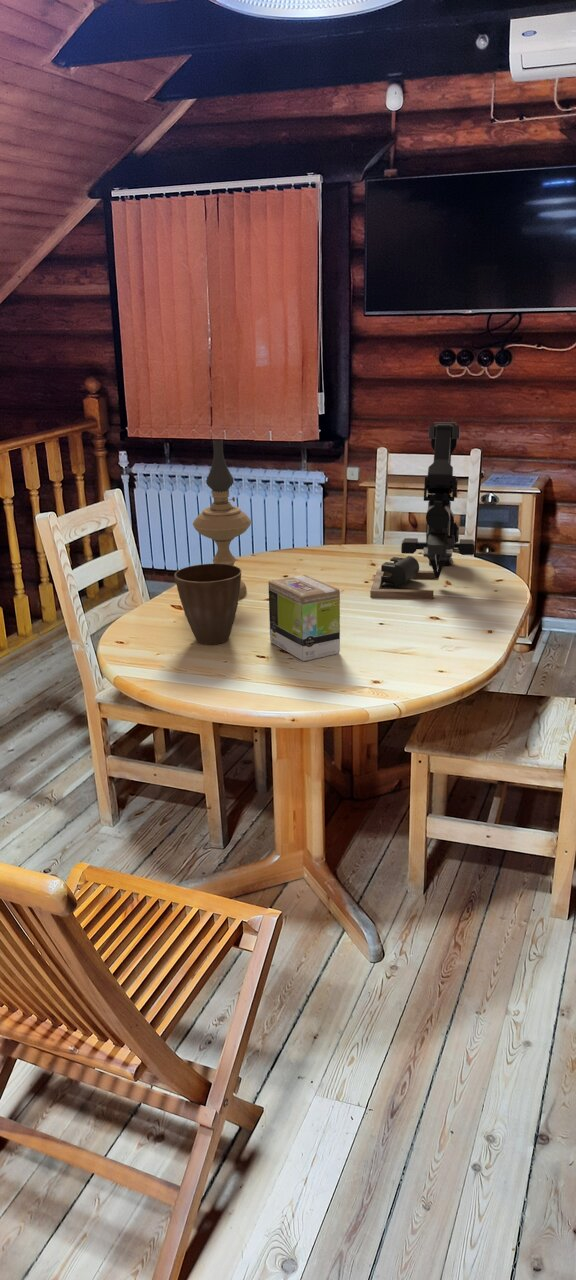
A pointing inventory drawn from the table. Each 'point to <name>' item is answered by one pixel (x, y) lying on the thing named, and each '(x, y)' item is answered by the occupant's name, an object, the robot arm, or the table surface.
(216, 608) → the plant pot
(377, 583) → the brown u-shaped frame
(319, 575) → the table surface
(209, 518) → the oil lamp
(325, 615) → the tea box
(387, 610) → the table surface
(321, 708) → the table surface
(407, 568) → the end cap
